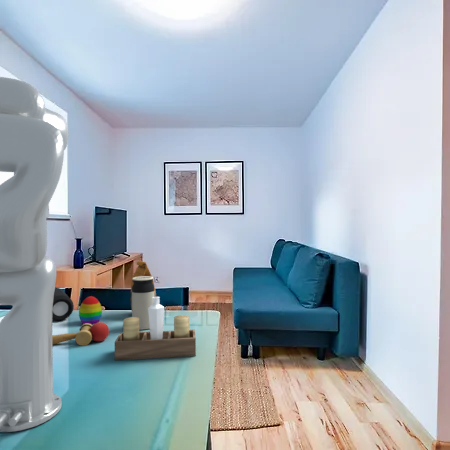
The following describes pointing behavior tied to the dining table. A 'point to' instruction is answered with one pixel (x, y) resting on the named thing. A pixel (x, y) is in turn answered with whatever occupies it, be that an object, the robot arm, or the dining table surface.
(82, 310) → the decorative egg
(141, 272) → the coffee package
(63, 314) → the portable speaker
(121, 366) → the dining table surface
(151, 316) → the white faceted vase
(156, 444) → the dining table surface
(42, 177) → the robot arm
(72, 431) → the dining table surface
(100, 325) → the kendama
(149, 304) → the travel mug
